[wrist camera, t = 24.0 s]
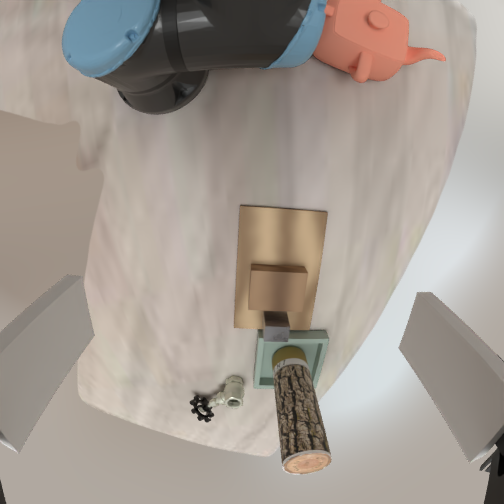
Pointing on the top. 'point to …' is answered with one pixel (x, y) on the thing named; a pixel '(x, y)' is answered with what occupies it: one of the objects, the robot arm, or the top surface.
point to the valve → (220, 399)
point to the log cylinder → (298, 414)
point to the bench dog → (275, 326)
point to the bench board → (278, 255)
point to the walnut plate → (277, 288)
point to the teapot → (367, 40)
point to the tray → (305, 340)
